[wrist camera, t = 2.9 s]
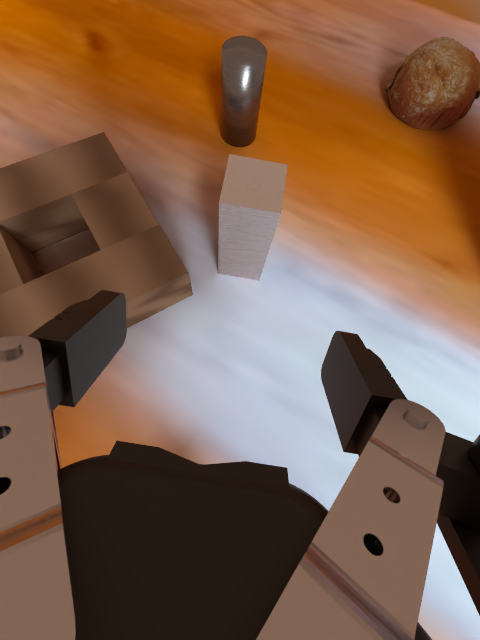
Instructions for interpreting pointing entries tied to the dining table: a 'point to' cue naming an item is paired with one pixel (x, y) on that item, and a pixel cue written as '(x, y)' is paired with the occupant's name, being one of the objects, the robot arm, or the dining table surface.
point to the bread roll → (435, 85)
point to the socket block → (71, 218)
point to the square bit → (249, 214)
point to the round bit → (241, 89)
